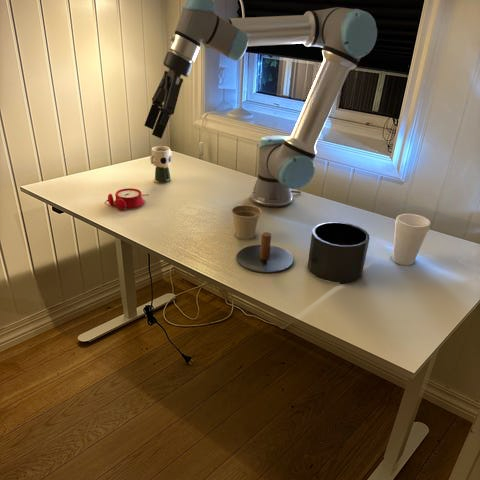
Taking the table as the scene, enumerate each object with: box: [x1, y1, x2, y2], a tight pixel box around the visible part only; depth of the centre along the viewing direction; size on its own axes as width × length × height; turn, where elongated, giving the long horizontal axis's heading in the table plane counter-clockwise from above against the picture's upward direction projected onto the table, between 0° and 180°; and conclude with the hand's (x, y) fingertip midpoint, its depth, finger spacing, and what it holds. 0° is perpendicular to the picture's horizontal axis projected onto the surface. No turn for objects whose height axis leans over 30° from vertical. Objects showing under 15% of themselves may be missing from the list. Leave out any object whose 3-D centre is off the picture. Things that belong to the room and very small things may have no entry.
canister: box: [306, 221, 370, 285], centre depth 137 cm, size 16×16×12 cm
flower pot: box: [230, 204, 262, 240], centre depth 154 cm, size 9×9×9 cm
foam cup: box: [392, 213, 431, 266], centre depth 143 cm, size 10×9×13 cm
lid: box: [235, 231, 294, 274], centre depth 140 cm, size 17×17×9 cm
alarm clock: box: [104, 187, 149, 211], centre depth 172 cm, size 10×6×15 cm
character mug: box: [149, 145, 173, 184], centre depth 191 cm, size 11×7×13 cm, turn 139°
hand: (152, 132), depth 140 cm, fingers open, 13 cm apart
